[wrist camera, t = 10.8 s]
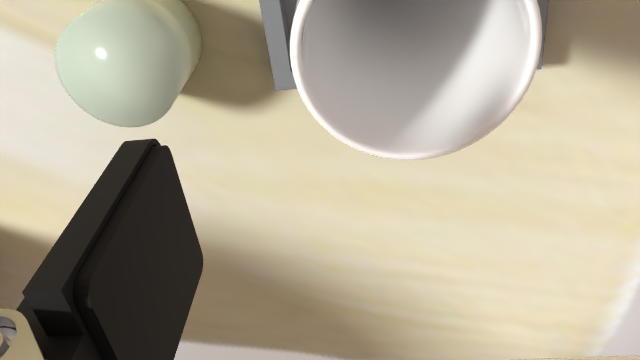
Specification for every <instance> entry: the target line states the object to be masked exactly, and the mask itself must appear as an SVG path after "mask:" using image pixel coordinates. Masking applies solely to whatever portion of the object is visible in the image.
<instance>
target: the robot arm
mask: <svg viewBox="0 0 640 360" xmlns="http://www.w3.org/2000/svg"><path fill="white" fill-rule="evenodd" d="M202 269H203V255H202V251H201V248H200V245H199V241H198V238H197V235H196V232H195V228H194V225H193V222H192V219H191V215H190V212H189V209H188V206H187V202H186V199H185V196H184V193H183V189H182V186H181V183H180V180H179V177H178V173H177V170H176V167H175V164H174V160H173V157H172V154H171V151H170V149H169V148H168V146H166V145H165V146H161V145H160V143H159V142H158V141H157V140H156V139H146V140H134V141H125V142H124V143H123V144H122V145H121V147H120V148H119V150H118V151H117V152H116V154H115V155H114V157H113V158H112V160H111V161H110V163H109V164H108V166H107V167H106V169H105V170H104V172H103V173H102V175H101V176H100V178H99V179H98V181H97V182H96V184H95V185H94V187H93V188H92V190H91V191H90V193H89V194H88V196H87V197H86V198H85V200H84V201H83V203H82V204H81V206H80V207H79V209H78V210H77V212H76V213H75V215H74V216H73V218H72V219H71V221H70V222H69V224H68V225H67V227H66V228H65V230H64V231H63V233H62V234H61V236H60V237H59V239H58V240H57V242H56V243H55V244H54V246H53V247H52V249H51V250H50V252H49V253H48V255H47V256H46V258H45V259H44V261H43V262H42V264H41V265H40V267H39V268H38V270H37V271H36V273H35V274H34V276H33V277H32V279H31V280H30V282H29V283H28V285H27V286H26V288H25V289H24V290H23V292H22V293H23V294H24V296H25V298H24V299H23V301H22V302H21V304H20V305H19V307H18V308H17V310H13V309H3V308H0V360H174V357H175V353H176V351H177V348H178V344H179V341H180V338H181V335H182V332H183V329H184V326H185V323H186V320H187V317H188V314H189V310H190V307H191V304H192V301H193V298H194V295H195V292H196V289H197V286H198V283H199V279H200V276H201V273H202ZM518 360H640V355H638V356H607V357H575V358H547V359H518Z"/></svg>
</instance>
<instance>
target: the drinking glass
mask: <svg viewBox="0 0 640 360" xmlns="http://www.w3.org/2000/svg"><path fill="white" fill-rule="evenodd" d="M541 44H542V21H541V15H540V9H539V5H538V2H537V0H297V3H296V8H295V12H294V18H293V24H292V28H291V36H290V60H291V67H292V72H293V77H294V80H295V83H296V86H297V89H298V91H299V93H300V96H301V98H302V100H303V101H304V103H305V105H306V107H307V108H308V110H309V111H310V113H311V114H312V115H313V117H314V118H315V119H316V120H317V121H318V122H319V124H321V125H322V126H323V127H324V128H325V129H326V130H327V131H328V132H329V133H330V134H332V135H333V136H334V137H335V138H337V139H338V140H340V141H341V142H343V143H345V144H346V145H348V146H350V147H352V148H354V149H356V150H359V151H361V152H364V153H367V154H370V155H373V156H377V157H381V158H387V159H393V160H422V159H429V158H435V157H439V156H443V155H447V154H450V153H453V152H456V151H458V150H461V149H463V148H465V147H467V146H470V145H471V144H473V143H475V142H477V141H479V140H480V139H482V138H483V137H485V136H486V135H488V134H489V133H490V132H492V131H493V130H494V129H495V128H497V127H498V126H499V125H500V124H501V123H502V122H503V121H504V120H505V119H506V118H507V117H508V116H509V115H510V114H511V113H512V112H513V111H514V109H515V108H516V107H517V105H518V104H519V103H520V101H521V100H522V98H523V96H524V95H525V93H526V92H527V90H528V88H529V86H530V84H531V82H532V79H533V77H534V74H535V71H536V68H537V65H538V61H539V57H540V51H541Z"/></svg>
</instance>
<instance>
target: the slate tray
mask: <svg viewBox="0 0 640 360" xmlns="http://www.w3.org/2000/svg"><path fill="white" fill-rule="evenodd" d="M259 2H260V7H261V13H262V18H263V24H264V29H265V35H266V40H267V46H268V52H269V57H270V63H271V68H272V74H273V79H274V85H275V90H286V89H297V86H296V83H295V80H294V77H293V72H292V67H291V60H290V36H291V28H292V24H293V18H294V12H295V8H296V3H297V0H259ZM537 2H538V5H539V9H540V15H541V21H542V44H541V51H540V57H539V61H538V65H537V68H536V69H541V67H542V58H543V48H544V38H545V29H546V19H547V10H548V0H537Z"/></svg>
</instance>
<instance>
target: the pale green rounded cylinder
mask: <svg viewBox="0 0 640 360" xmlns="http://www.w3.org/2000/svg"><path fill="white" fill-rule="evenodd" d="M201 49H202V39H201V33H200V30H199V26H198V24H197V22H196V19H195V18H194V16H193V14H192V13H191V11H190V10H189V9H188V7H187V6H186V5H185V4H184V3H183V2H182V1H181V0H99V1H98V2H96V3H95V4H94V5H93V6H91V7H90V8H89V9H88V10H86V11H85V12H84V13H82V14H81V15H80V16H79V17H77V18H76V19H75V20H74V21H72V22H71V23H70V24H69V25H68V26H67V27H66V28H65V29H64V30H63V31H62V33H61V35H60V36H59V39H58V41H57V44H56V48H55V65H56V70H57V73H58V76H59V79H60V81H61V83H62V85H63V87H64V89H65V90H66V92H67V93H68V95H69V96H70V97H71V99H72V100H73V101H74V102H75V103H76V104H77V105H78V106H79V107H80V108H82V109H83V110H84V111H85V112H87V113H88V114H90V115H91V116H93V117H95V118H97V119H98V120H101V121H103V122H105V123H108V124H111V125H115V126H120V127H140V126H145V125H148V124H151V123H153V122H155V121H157V120H158V119H160V118H161V117H163V116H164V115H165V114H166V113H167V112H168V110H169V109H170V108H171V106H172V104H173V103H174V101H175V100H176V98H177V96H178V95H179V93H180V91H181V90H182V88H183V87H184V85H185V83H186V82H187V80H188V79H189V77H190V75H191V74H192V72H193V71H194V69H195V67H196V66H197V64H198V61H199V59H200V55H201Z"/></svg>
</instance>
